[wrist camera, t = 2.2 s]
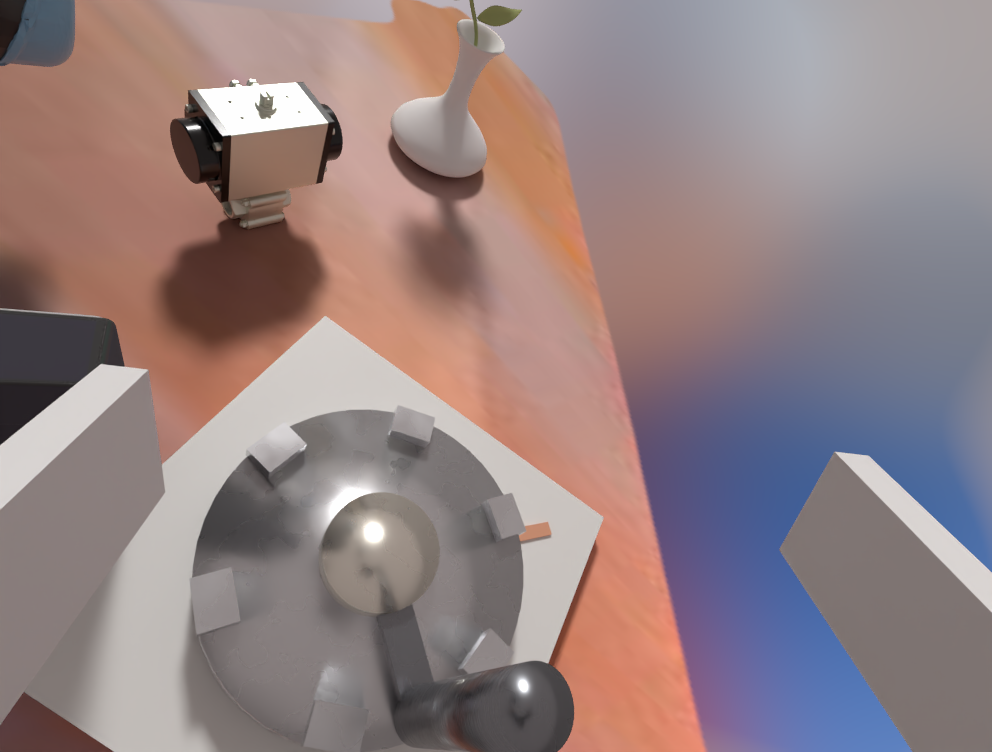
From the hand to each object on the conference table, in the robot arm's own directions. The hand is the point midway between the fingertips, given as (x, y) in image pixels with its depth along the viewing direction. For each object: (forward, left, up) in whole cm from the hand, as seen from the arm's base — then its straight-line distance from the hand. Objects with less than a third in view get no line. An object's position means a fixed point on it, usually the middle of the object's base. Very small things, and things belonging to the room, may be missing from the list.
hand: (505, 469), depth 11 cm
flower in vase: (-20, +49, -30) cm, 61 cm away
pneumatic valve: (-25, +26, -30) cm, 47 cm away
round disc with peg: (+1, +6, -28) cm, 28 cm away
